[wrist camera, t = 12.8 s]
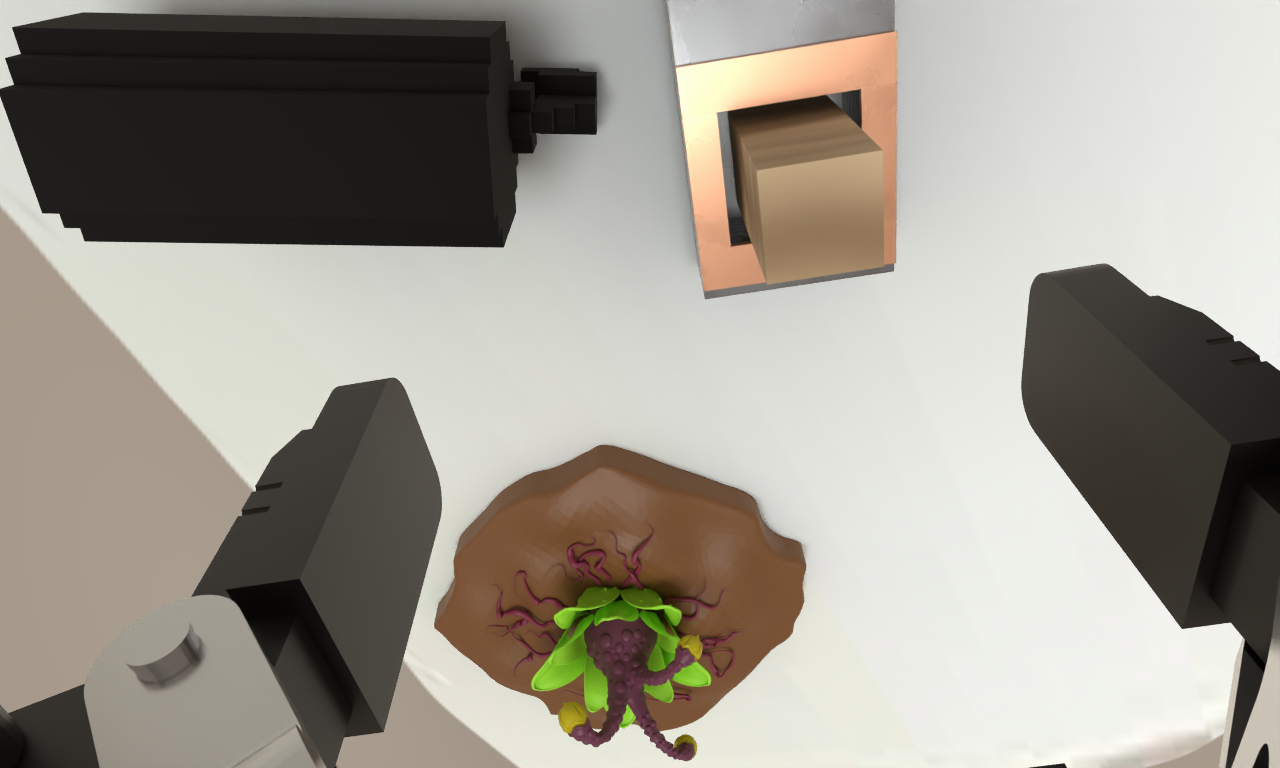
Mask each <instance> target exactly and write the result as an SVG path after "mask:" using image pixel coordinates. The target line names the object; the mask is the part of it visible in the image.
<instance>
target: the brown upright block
mask: <svg viewBox="0 0 1280 768" xmlns="http://www.w3.org/2000/svg"><path fill="white" fill-rule="evenodd" d="M727 113H728V123H729V133H730V142H731V152H732V161H733V171H734V181H735V190H736V200H737V204H738V207H739V209H740V212H741V215H742V218H743V220H744V223H745V226H746V229H747V231H748V234H749V237H750V240H751V242H752V245H753V248H754V250H755V253H756V256H757V259H758V261H759V264H760V267H761V270H762V272H763V275H764V278H765V281H766V283H767V285H768V284H774V283H781V282H787V281H794V280H800V279H807V278H814V277H820V276H827V275H833V274H840V273H846V272H853V271H859V270H866V269H872V268H879V267H884V202H883V150H882V149H881V148H880V147H879V146H878V145H877V144H876V143H875V142H874V141H873V140H872V139H871V138H870V137H869V136H868V135H867V134H866V133H865V132H864V131H863V130H862V129H861V128H860V127H859V126H858V125H857V124H856V123H855V122H854V121H853V120H852V119H851V118H850V117H849V116H848V115H847V114H846V113H845V112H843V111H842V110H841V109H840V108H839V107H838V106H837V105H836V104H835V103H834V102H833V101H832V100H831V99H830V98H829V97H828V96H827V95H821V96H815V97H809V98H803V99H797V100H790V101H784V102H778V103H772V104H766V105H760V106H754V107H748V108H741V109H735V110H729V111H727Z"/></svg>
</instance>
